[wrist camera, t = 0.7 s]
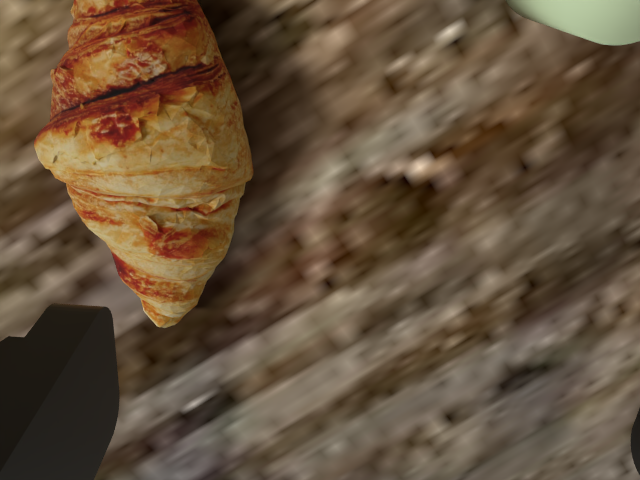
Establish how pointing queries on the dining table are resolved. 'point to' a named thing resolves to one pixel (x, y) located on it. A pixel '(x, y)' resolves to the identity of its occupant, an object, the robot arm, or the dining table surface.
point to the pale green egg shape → (586, 18)
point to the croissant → (149, 144)
